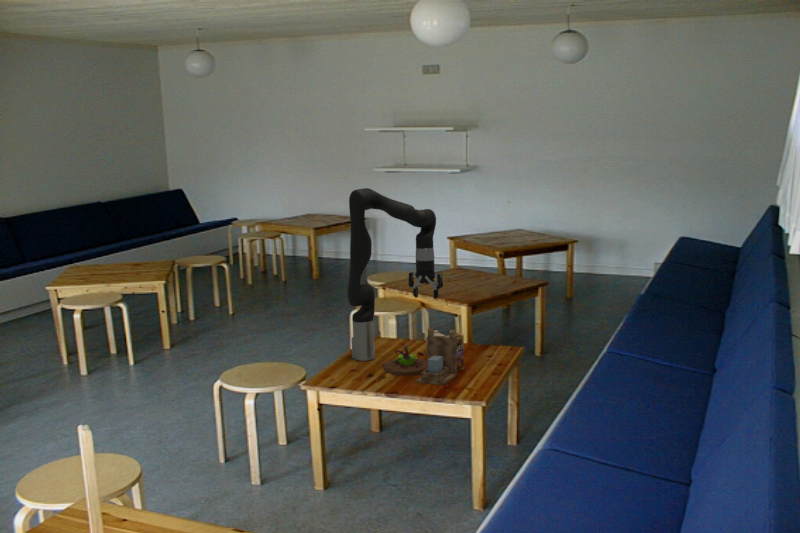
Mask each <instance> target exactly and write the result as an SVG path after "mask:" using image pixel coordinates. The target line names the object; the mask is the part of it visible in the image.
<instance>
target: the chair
mask: <svg viewBox="0 0 800 533" xmlns="http://www.w3.org/2000/svg"><path fill="white" fill-rule="evenodd" d="M434 331H435V330H434V328H432V327H429V328H427V335H428V336H427V335H426V336H427V338H428V355H427V360H428V359H429V358H431V357H432V356H443V358H444V361H443V371H441V372H440V373H439V374H437V373H428V368H427V369H425V370H424V371H422V372H421V374H420V376H419V377H418V378H417V379H416V380H415V382H416V383H419V384H429V385H435V386H436V385H437V386H446V384H448V383H449V382H450V381H452V380H453V379H455V377H457V375H458V371H457V357H456V329H450V330H449V335H450V337H445V336H446V335H445V336H434Z"/></svg>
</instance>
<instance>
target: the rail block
mask: <svg viewBox="0 0 800 533" xmlns="http://www.w3.org/2000/svg"><path fill="white" fill-rule="evenodd" d="M443 361H444V358H443V356H432V357H431V358H429V359H428V358H427V362H428V373H437V374H439V373H440V372H441V371H443Z"/></svg>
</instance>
